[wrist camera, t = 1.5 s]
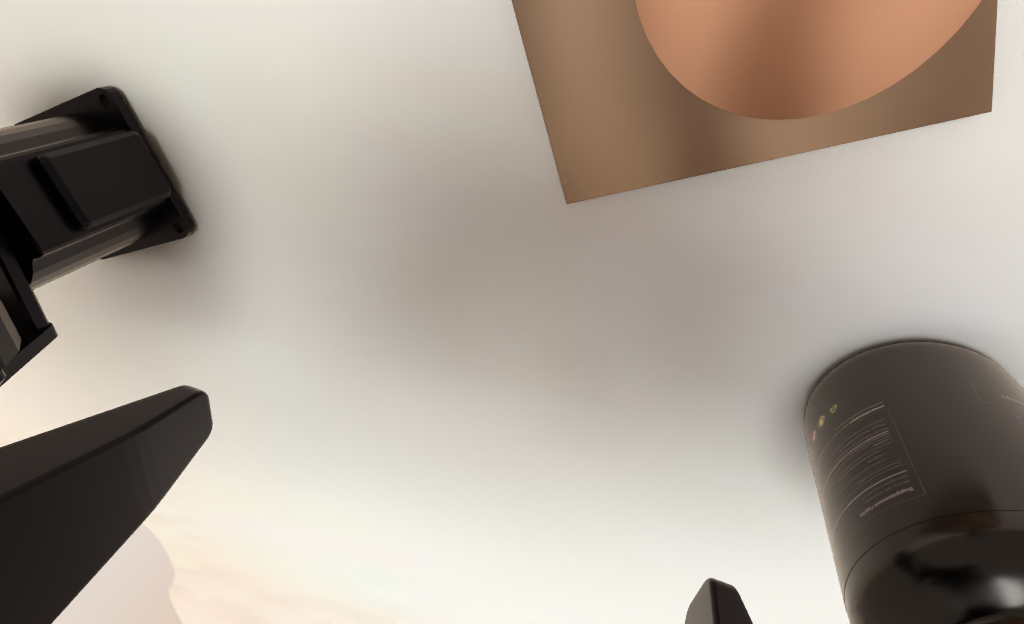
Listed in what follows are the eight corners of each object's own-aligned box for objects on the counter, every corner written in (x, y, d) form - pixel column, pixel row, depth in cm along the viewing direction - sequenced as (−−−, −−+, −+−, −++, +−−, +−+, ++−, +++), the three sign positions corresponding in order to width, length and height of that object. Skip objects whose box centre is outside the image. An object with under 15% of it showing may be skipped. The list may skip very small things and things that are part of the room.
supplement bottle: (1069, 369, 18) (1520, 830, 8) (945, 503, 22) (1154, 934, 12) (853, 307, 19) (1027, 656, 9) (768, 446, 23) (827, 802, 13)
